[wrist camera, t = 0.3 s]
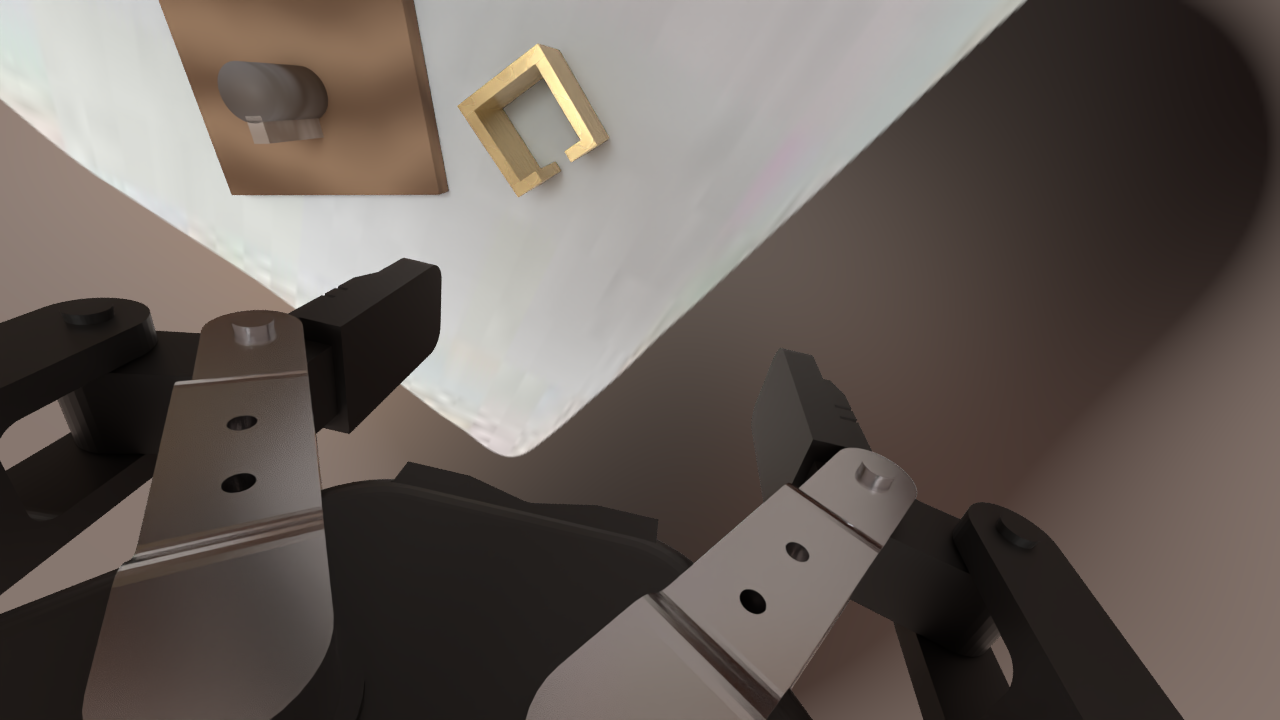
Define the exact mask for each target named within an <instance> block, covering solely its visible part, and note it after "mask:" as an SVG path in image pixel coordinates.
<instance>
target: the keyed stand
mask: <svg viewBox="0 0 1280 720" xmlns="http://www.w3.org/2000/svg"><path fill="white" fill-rule="evenodd" d="M159 3H160V5H161V8H162V10H163V13H164V16H165V18H166V21H167V24H168V26H169V29H170V32H171V34H172V37H173V40H174V42H175V45H176V48H177V50H178V53H179V56H180V58H181V61H182V64H183V66H184V69H185V72H186V74H187V77H188V80H189V82H190V85H191V88H192V90H193V93H194V96H195V98H196V101H197V104H198V106H199V109H200V112H201V114H202V117H203V120H204V122H205V125H206V128H207V130H208V133H209V136H210V138H211V141H212V144H213V146H214V149H215V152H216V154H217V157H218V159H219V162H220V165H221V167H222V170H223V173H224V175H225V178H226V181H227V183H228V186H229V189H230V191H231V194H232V195H440V194H442V193H445V192H447V191H449V190H448V185H447V180H446V174H445V169H444V163H443V158H442V153H441V147H440V142H439V136H438V131H437V126H436V120H435V115H434V109H433V104H432V98H431V93H430V88H429V82H428V77H427V71H426V66H425V61H424V55H423V50H422V44H421V39H420V34H419V28H418V23H417V17H416V12H415V7H414V1H413V0H159Z"/></svg>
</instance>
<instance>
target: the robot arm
mask: <svg viewBox="0 0 1280 720" xmlns="http://www.w3.org/2000/svg"><path fill="white" fill-rule="evenodd" d="M441 281H442V280H441V271H440V269H439V267H438V266H436V265H432V264H428V263H424V262H420V261H415V260H411V259H407V258H402V259H400V260H398V261H397V262H395V263H393V264H391V265H390V266H388V267H386V268H384V269H383V270H381V271H379V272H376V273H372V274H368V275H363V276H359V277H355V278H353V279H351V280H349V281H347V282H345V283H343V284H342V285H340V286H338V289H337V288H334V289H332V290H331V291H329V292H327V293H325V296H323V295H321V296H320V297H318V298H316V299H314V300H312V301H310V302H309V303H307V304H305V305H303V306H301V307H299V308H298V309H296V310H294V311H292V312H290V313H289V314H286V313H282V312H277V311H268V310H251V311H241V312H235V313H230V314H227V315H223V316H220V317H217V318H215V319H214V320H211V321H209V322H208V323H207V324H205V325H204V327H203V328H202V330H201V333H185V332H168V331H155V328H154V324H153V321H152V317H151V314H150V310H149V308H148V307H147V306H145V305H144V304H142V303H139V302H136V301H132V300H127V299H119V298H88V299H78V300H72V301H66V302H61V303H57V304H53V305H49V306H46V307H43V308H41V309H38V310H35V311H32V312H29V313H27V314H24V315H21V316H18V317H16V318H13V319H11V320H8V321H5V322H2V323H0V438H1V436H2V435H3V433H4V432H5V431H6V430H7V428H8V427H9V426H11V425H12V424H13V423H15V422H16V421H18V420H20V419H21V418H23V417H25V416H27V415H29V414H31V413H33V412H35V411H37V410H39V409H40V408H42V407H44V406H46V405H48V404H50V403H52V402H54V401H56V400H58V402H59V404H60V407H61V409H62V412H63V414H64V417H65V419H66V421H67V424H68V426H69V429H70V431H71V433H69V434H67V435H66V436H64V437H62V438H61V439H59V440H57V441H55V442H54V443H52V444H50V445H49V446H47V447H45V448H43V449H42V450H40V451H38V452H37V453H35V454H33V455H32V456H30V457H28V458H27V459H25V460H23V461H22V462H20V463H18V464H16V465H15V466H13V467H11V468H10V469H8V470H6V471H5V469H4V467H3V466H2V464H1V462H0V595H1V594H2V593H4V592H5V591H6V590H7V589H9V588H10V587H11V586H13V585H14V584H15V583H17V582H18V581H19V580H20V579H22V578H23V577H24V576H25V575H27V574H28V573H29V572H31V571H32V570H33V569H35V568H36V567H37V566H38V565H40V564H41V563H42V562H44V561H45V560H46V559H47V558H49V557H50V556H51V555H53V554H54V553H55V552H57V551H58V550H59V549H60V548H62V547H63V546H64V545H66V544H67V543H68V542H69V541H71V540H72V539H73V538H75V537H76V536H77V535H79V534H80V533H81V532H82V531H83V530H85V529H86V528H87V527H89V526H90V525H91V524H93V523H94V522H95V521H97V520H98V519H99V518H100V517H102V516H103V515H104V514H106V513H107V512H108V511H109V510H111V509H112V508H113V507H114V506H116V505H117V504H118V503H120V502H121V501H122V500H124V499H125V498H126V497H127V496H129V495H130V494H131V493H133V492H134V491H135V490H137V489H138V488H139V487H140V486H142V485H143V484H144V483H146V481H148V480H150V479H151V478H152V477H153V478H152V483H151V487H150V492H149V496H148V501H147V505H146V509H145V514H144V518H143V522H142V527H141V531H140V536H139V540H138V544H137V548H136V551H135V554H134V556H133V558H132V559H131V560H129V561H127V562H124V563H123V565H121V567H120V568H118V569H115V570H113V571H110V572H107V573H105V574H102V575H100V576H97V577H95V578H92V579H89V580H87V581H84V582H82V583H79V584H77V585H74V586H71V587H69V588H66V589H64V590H61V591H58V592H56V593H53V594H51V595H48V596H46V597H43V598H41V599H38V600H35V601H33V602H30V603H28V604H25V605H22V606H20V607H17V608H15V609H12V610H10V611H7V612H4V613H2V614H0V720H813V719H812V718H811V717H810V715H809V714H808V713H807V711H806V710H805V708H804V707H803V706H802V704H801V703H800V701H799V700H798V699H797V697H796V696H795V695H794V693H793V692H792V690H791V689H792V687H793V686H794V684H795V683H796V681H797V680H798V678H799V676H800V675H801V673H802V672H803V670H804V669H805V667H806V666H807V664H808V663H809V661H810V660H811V658H812V657H813V655H814V654H815V652H816V651H817V649H818V648H819V646H820V645H821V643H822V642H823V640H824V639H825V637H826V636H827V634H828V633H829V631H830V629H831V628H832V627H833V625H834V624H835V622H836V620H837V619H838V617H839V616H840V614H841V613H842V611H843V610H844V608H845V607H846V605H847V604H848V602H849V601H850V600H852V601H854V602H857V603H858V604H860V605H862V606H864V607H866V608H868V609H870V610H872V611H874V612H876V613H878V614H880V615H882V616H884V617H886V618H888V619H890V620H892V621H893V622H894V625H895V629H896V633H897V636H898V639H899V642H900V646H901V648H902V652H903V655H904V658H905V662H906V665H907V668H908V672H909V675H910V678H911V681H912V684H913V688H914V691H915V694H916V697H917V700H918V704H919V707H920V710H921V713H922V717H923V720H1184V719H1183V717H1182V716H1181V715H1180V713H1179V712H1178V711H1177V709H1176V708H1175V707H1174V705H1173V704H1172V703H1171V701H1170V700H1169V698H1168V697H1167V696H1166V694H1165V693H1164V691H1163V690H1162V689H1161V687H1160V686H1159V685H1158V683H1157V682H1156V680H1155V679H1154V678H1153V676H1152V675H1151V674H1150V672H1149V671H1148V669H1147V668H1146V667H1145V665H1144V664H1143V663H1142V661H1141V660H1140V659H1139V657H1138V656H1137V654H1136V653H1135V652H1134V650H1133V649H1132V648H1131V646H1130V645H1129V644H1128V642H1127V641H1126V639H1125V638H1124V637H1123V635H1122V634H1121V632H1120V631H1119V630H1118V629H1117V627H1116V626H1115V624H1114V623H1113V621H1112V620H1111V619H1110V617H1109V616H1108V615H1107V613H1106V612H1105V611H1104V609H1103V608H1102V606H1101V605H1100V604H1099V602H1098V601H1097V600H1096V598H1095V597H1094V595H1093V594H1092V593H1091V591H1090V590H1089V589H1088V587H1087V586H1086V584H1085V583H1084V582H1083V580H1082V579H1081V578H1080V576H1079V575H1078V574H1077V572H1076V571H1075V569H1074V568H1073V567H1072V565H1071V564H1070V563H1069V561H1068V560H1067V558H1066V557H1065V556H1064V554H1063V553H1062V552H1061V550H1060V549H1059V548H1058V546H1057V545H1056V544H1055V542H1054V541H1053V540H1052V539H1051V538H1050V537H1049V536H1048V535H1047V534H1046V533H1045V532H1044V531H1042V530H1041V529H1040V528H1039V527H1037V526H1036V525H1035V524H1033V523H1032V522H1030V521H1029V520H1027V519H1026V518H1024V517H1023V516H1021V515H1019V514H1017V513H1015V512H1013V511H1011V510H1009V509H1007V508H1004V507H1001V506H999V505H995V504H991V503H984V502H980V503H975V504H973V505H971V506H970V507H969V509H968V510H967V512H966V513H965V514H964V516H963V517H962V518H961V519H958V518H956V517H954V516H951V515H949V514H947V513H945V512H943V511H940V510H938V509H935V508H933V507H931V506H929V505H927V504H924V503H922V502H920V501H918V500H916V499H915V498H916V496H917V490H916V486H915V484H914V482H913V481H912V479H911V478H910V477H909V476H908V475H907V473H906V472H905V471H903V470H902V469H901V468H900V467H899V466H897V465H896V464H895V463H893V462H892V461H890V460H888V459H887V458H885V457H883V456H881V455H879V454H877V453H874V452H872V450H871V448H870V446H869V444H868V442H867V440H866V438H865V436H864V434H863V432H862V430H861V428H860V426H859V423H856V421H857V419H856V417H855V415H854V413H853V411H851V407H850V405H849V403H848V401H847V399H846V397H845V395H844V394H843V393H842V392H841V391H840V390H839V389H838V388H837V387H836V386H835V385H834V384H833V383H832V382H831V381H829V380H825V379H823V378H822V375H821V373H820V371H819V369H818V366H817V364H816V362H815V360H814V357H813V356H812V355H808V354H804V353H800V352H795V351H791V350H786V349H783V348H780V349H779V350H778V351H777V352H776V354H775V356H774V358H773V361H772V363H771V366H770V368H769V371H768V373H767V376H766V379H765V381H764V384H763V386H762V389H761V391H760V394H759V396H758V399H757V402H756V404H755V408H754V411H753V417H752V434H753V440H754V446H755V452H756V459H757V464H758V471H759V477H760V483H761V489H762V495H763V501H764V503H763V504H762V505H761V506H760V507H758V508H757V509H756V510H755V511H754V512H753V513H752V514H750V515H749V516H748V517H747V518H746V519H745V520H744V521H742V522H741V523H740V524H739V525H738V526H737V527H736V528H734V529H733V530H732V531H731V532H730V533H729V534H727V535H726V536H725V537H724V538H723V539H722V540H721V541H720V542H718V543H717V544H716V545H715V546H714V547H713V548H711V549H710V550H709V551H708V552H707V553H706V554H705V555H703V556H702V557H701V558H700V559H699V560H698V561H696V563H693V562H692V561H691V560H689V559H688V558H687V557H685V556H684V555H683V554H681V553H680V552H678V551H677V550H675V549H673V548H672V547H670V546H668V545H667V544H665V543H663V542H661V541H659V540H657V539H656V538H657V527H658V519H654V518H649V517H645V516H640V515H636V514H631V513H628V512H623V511H619V510H615V509H610V508H606V507H602V506H597V505H570V504H568V505H567V504H539V503H529V502H526V501H523V500H520V499H519V498H516V497H514V496H512V495H510V494H507V493H506V492H504V491H501V490H499V489H497V488H495V487H493V486H491V485H489V484H486V483H484V482H482V481H480V480H478V479H476V478H473V477H471V476H468V475H464V474H459V473H455V472H451V471H447V470H442V469H438V468H434V467H430V466H425V465H421V464H417V463H412V462H407V464H406V465H405V466H404V468H403V469H402V470H401V471H400V473H399V474H398V475H397V477H396V478H395V479H378V480H366V481H359V482H352V483H347V484H342V485H338V486H334V487H330V488H327V489H324V490H322V482H321V473H320V464H319V455H318V446H317V438H316V433H317V432H319V431H320V430H321V429H322V428H326V429H330V430H335V431H339V432H343V433H348V434H350V433H351V432H352V431H353V430H354V429H355V428H356V427H357V426H358V425H359V424H360V423H361V422H362V421H363V420H364V419H365V418H366V417H367V416H368V415H369V414H370V413H371V412H372V411H373V410H374V409H375V408H376V407H377V406H378V405H379V404H380V403H381V402H382V401H383V400H384V399H385V398H386V397H387V396H388V395H389V394H390V393H391V392H392V391H393V390H394V389H395V388H396V387H397V386H398V385H399V384H400V383H402V382H403V381H404V380H405V379H406V378H407V377H408V376H409V375H410V374H411V373H412V372H413V371H414V370H415V369H416V368H417V367H418V366H419V365H420V364H421V363H422V362H423V361H424V360H425V359H426V358H427V357H428V356H429V355H430V354H431V353H432V351H433V350H434V348H435V346H436V344H437V342H438V338H439V334H440V323H441ZM1000 636H1001V637H1002V639H1003V640H1004V643H1005V645H1006V646H1007V649H1008V650H1009V653H1010V655H1011V658H1012V663H1013V679H1012V683H1011V686H1010V687H1009V685H1008V683H1007V681H1006V679H1005V676H1004V674H1003V672H1002V670H1001V668H1000V666H999V664H998V662H997V660H996V658H995V655H994V653H993V651H992V649H991V647H990V646H991V645H992V644H993V643H994V642H995V641H996V640H997V639H998V638H999V637H1000Z"/></svg>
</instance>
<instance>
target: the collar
mask: <svg viewBox="0 0 1280 720" xmlns="http://www.w3.org/2000/svg"><path fill="white" fill-rule="evenodd" d="M543 78H544V79H545V81H546V83H547V84H548V86H549V88H550V89H551V91H552V93H553V94H554V96H555V98H556V100H557V101H558V103H559V105H560V106H561V108H562V110H563V111H564V113H565V115H566V116H567V118H568V120H569V121H570V123H571V125H572V126H573V128H574V130H575V132H576V133H577V135H578V137H579V138H580V140H581V141H579V142H578V143H576V144H575V145H573V146H572V147H570V148H569V149H567V150H566V151H564V152H565V153H566V155H567V157H568V158H569V160H570V161H571V162H572V161H574V160H576V159H578V158H580V157H582V156H583V155H585V154H587V153H589V152H590V151H592V150H593V149H595V148H596V147H598V146H599V145H601V144H602V143H604V142H605V141H607V140H608V139H610V138H609V136H608V135H607V133H606V131H605V129H604V128H603V126H602V124H601V122H600V121H599V119H598V117H597V115H596V114H595V112H594V110H593V108H592V107H591V105H590V103H589V101H588V100H587V98H586V96H585V94H584V93H583V91H582V89H581V87H580V86H579V84H578V82H577V80H576V79H575V77H574V75H573V73H572V71H571V70H570V68H569V66H568V64H567V63H566V61H565V59H564V57H563V56H562V54H561V52H560V50H557V49H554V48H550V47H547V46H544V45H541V44H536V45H535V46H534V47H533V48H531V49H530V50H529V51H527V52H526V53H525V54H524V55H522V56H521V57H520V58H518V59H517V60H516V61H515V62H513V63H512V64H511V65H509V66H508V67H507V68H506V69H504V70H503V71H502V72H500V73H499V74H498V75H497V76H495V77H494V78H493V79H491V80H490V81H489V82H488V83H486V84H485V85H484V86H482V87H481V88H480V89H479V90H477V91H476V92H475V93H473V94H472V95H471V96H470V97H468V98H467V99H466V100H464V101H463V102H462V103H461V104H459V105H458V108H459V109H460V111H461V112H462V114H463V115H464V117H465V118H466V120H467V121H468V123H469V124H470V126H471V127H472V129H473V130H474V132H475V133H476V135H477V136H478V138H479V139H480V141H481V142H482V144H483V145H484V147H485V148H486V150H487V151H488V153H489V154H490V156H491V157H492V159H493V160H494V162H495V163H496V165H497V166H498V168H499V169H500V171H501V172H502V174H503V175H504V177H505V178H506V180H507V181H508V183H509V184H510V186H511V187H512V189H513V190H514V192H515V193H516V195H517V196H518V197H520V196H522V195H523V194H525V193H527V192H528V191H530V190H532V189H534V188H535V187H537V186H539V185H540V184H542V183H543V182H545V181H546V180H548V179H549V178H551V177H552V176H554V175H556V174H557V173H559V172H560V171H561V170H560V168H559V166H558V165H557V163H556V162H554V163H551V164H549V165H547V166H545V167H543V168H540V167H539V165H538V164H537V162H536V161H535V159H534V157H533V156H532V154H531V153H530V151H529V150H528V148H527V146H526V145H525V143H524V142H523V140H522V139H521V137H520V135H519V134H518V132H517V131H516V129H515V128H514V126H513V124H512V123H511V121H510V120H509V118H508V117H507V115H506V113H505V112H504V110H503V109H502V108H504V107H505V106H506V105H508V104H509V103H510V102H512V101H513V100H514V99H516V98H517V97H518V96H520V95H521V94H522V93H524V92H525V91H526V90H528V89H529V88H530V87H532V86H533V85H534V84H536V83H537V82H538V81H540V80H541V79H543Z"/></svg>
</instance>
